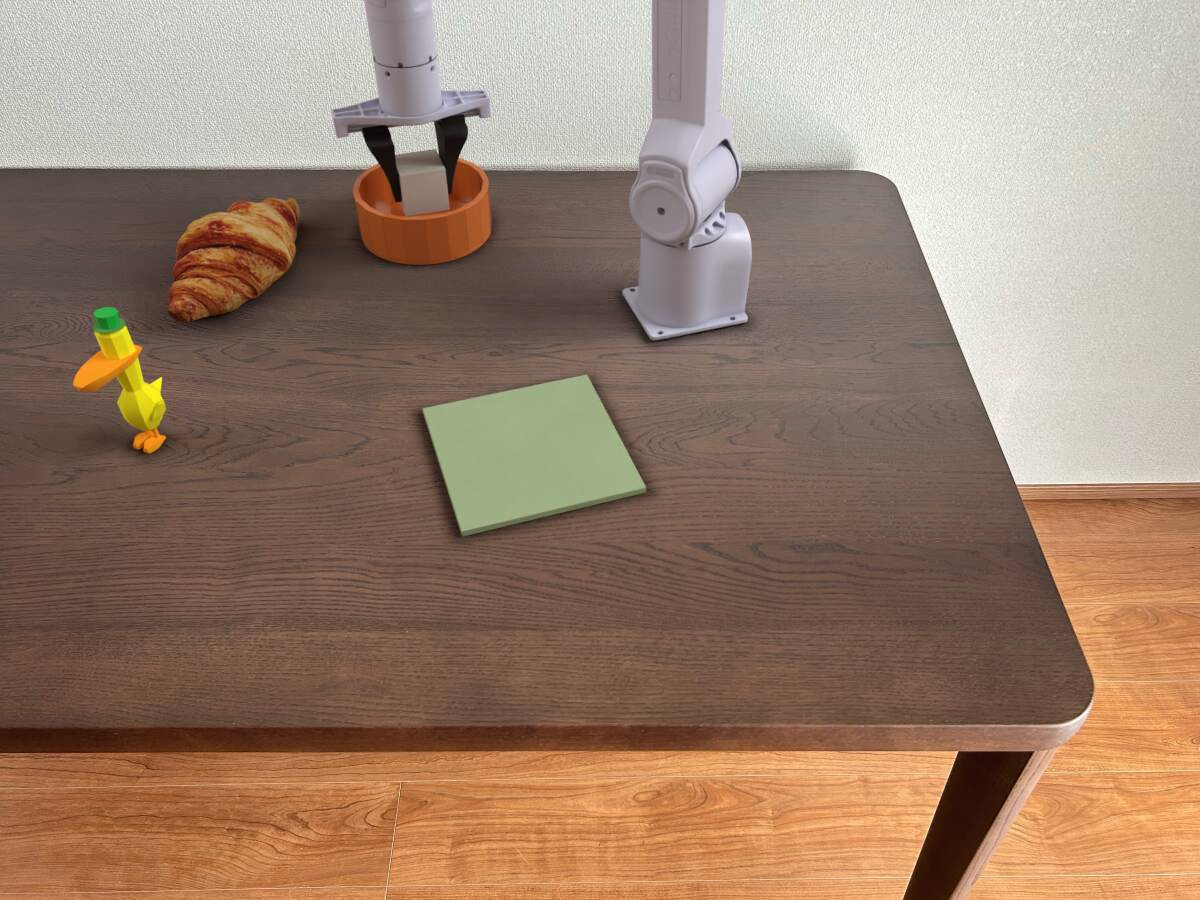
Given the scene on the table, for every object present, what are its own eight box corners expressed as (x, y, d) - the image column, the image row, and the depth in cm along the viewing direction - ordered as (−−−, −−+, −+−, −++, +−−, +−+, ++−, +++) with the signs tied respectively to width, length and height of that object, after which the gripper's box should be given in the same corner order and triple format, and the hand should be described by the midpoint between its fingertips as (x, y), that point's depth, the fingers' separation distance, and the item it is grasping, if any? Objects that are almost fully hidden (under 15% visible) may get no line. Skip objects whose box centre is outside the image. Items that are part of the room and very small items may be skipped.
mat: (586, 379, 82) (587, 374, 81) (646, 492, 72) (646, 487, 72) (423, 413, 78) (422, 407, 78) (462, 537, 69) (461, 531, 68)
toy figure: (135, 479, 73) (78, 352, 64) (98, 465, 74) (37, 338, 65) (195, 424, 77) (149, 298, 69) (160, 412, 78) (110, 287, 70)
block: (440, 189, 99) (435, 148, 96) (449, 209, 96) (445, 168, 93) (397, 195, 98) (391, 155, 95) (405, 217, 95) (399, 175, 92)
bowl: (474, 189, 105) (470, 146, 102) (505, 252, 96) (503, 206, 93) (352, 208, 102) (344, 164, 99) (372, 274, 93) (364, 228, 90)
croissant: (278, 244, 103) (230, 178, 99) (348, 215, 98) (301, 145, 94) (166, 361, 88) (104, 289, 83) (244, 333, 83) (182, 255, 79)
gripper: (473, 30, 91) (484, 164, 101) (317, 48, 88) (343, 185, 97) (492, 59, 87) (501, 196, 96) (327, 79, 83) (353, 219, 92)
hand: (422, 193), depth 96 cm, fingers closed on block, 4 cm apart
